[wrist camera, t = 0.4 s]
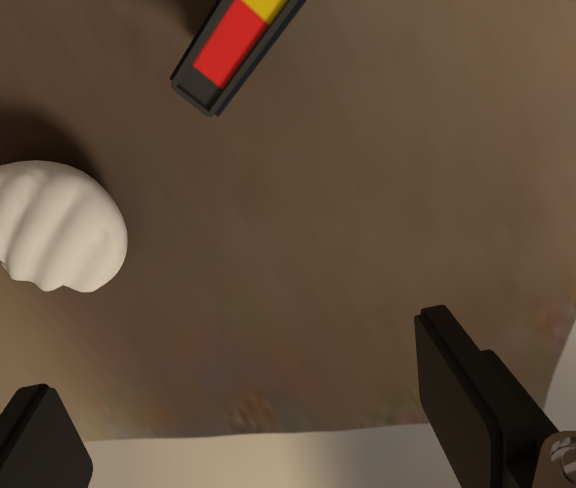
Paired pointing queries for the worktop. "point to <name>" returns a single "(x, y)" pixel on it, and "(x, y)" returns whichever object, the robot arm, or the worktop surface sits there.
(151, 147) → the worktop surface
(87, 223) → the shell shaped sculpture
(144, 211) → the worktop surface
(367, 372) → the worktop surface
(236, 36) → the magazine
